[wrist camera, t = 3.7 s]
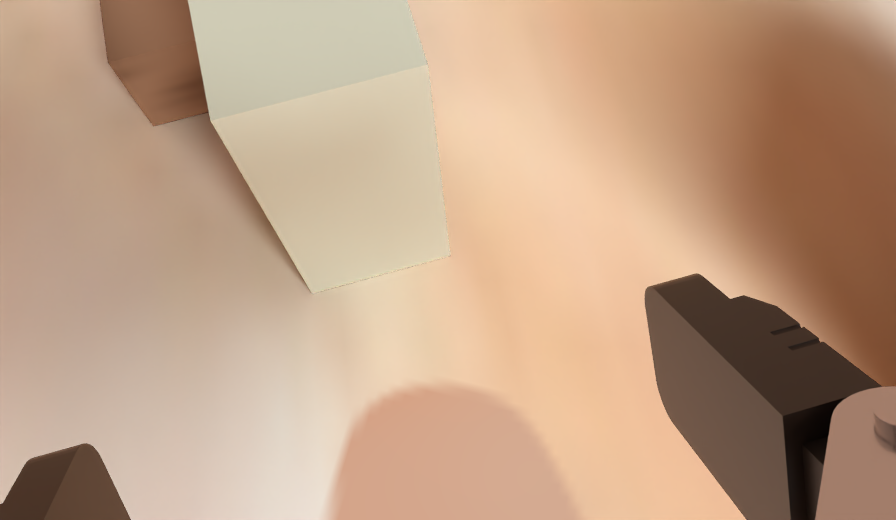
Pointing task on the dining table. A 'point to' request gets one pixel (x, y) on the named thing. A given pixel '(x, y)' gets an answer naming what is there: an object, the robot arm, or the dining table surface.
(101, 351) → the dining table surface
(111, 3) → the walnut plinth
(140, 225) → the dining table surface
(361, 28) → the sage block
